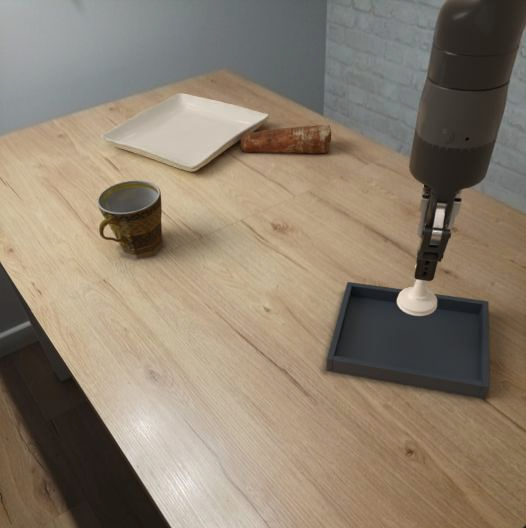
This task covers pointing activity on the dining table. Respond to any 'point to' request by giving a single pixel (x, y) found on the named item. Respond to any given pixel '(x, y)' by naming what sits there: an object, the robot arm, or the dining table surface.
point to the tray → (412, 341)
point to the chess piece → (417, 299)
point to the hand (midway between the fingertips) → (424, 270)
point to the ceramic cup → (133, 217)
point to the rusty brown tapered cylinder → (288, 140)
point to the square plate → (185, 130)
